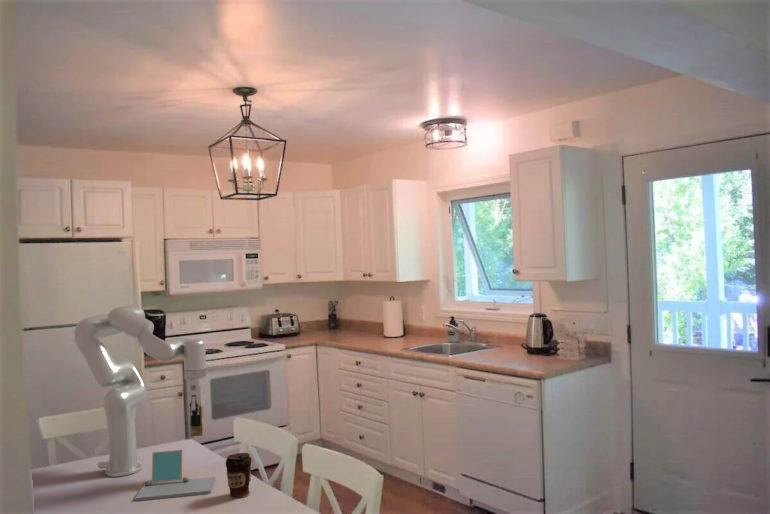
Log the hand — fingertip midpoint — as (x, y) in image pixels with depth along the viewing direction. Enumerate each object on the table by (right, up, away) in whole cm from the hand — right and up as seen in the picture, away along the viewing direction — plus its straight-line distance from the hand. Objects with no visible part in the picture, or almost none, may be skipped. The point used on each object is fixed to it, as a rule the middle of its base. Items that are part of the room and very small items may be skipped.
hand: (196, 423), depth 223 cm
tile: (-8, -12, -8) cm, 17 cm away
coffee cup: (+21, -18, -21) cm, 34 cm away
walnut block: (0, -4, 0) cm, 4 cm away
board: (-3, -19, -13) cm, 23 cm away
